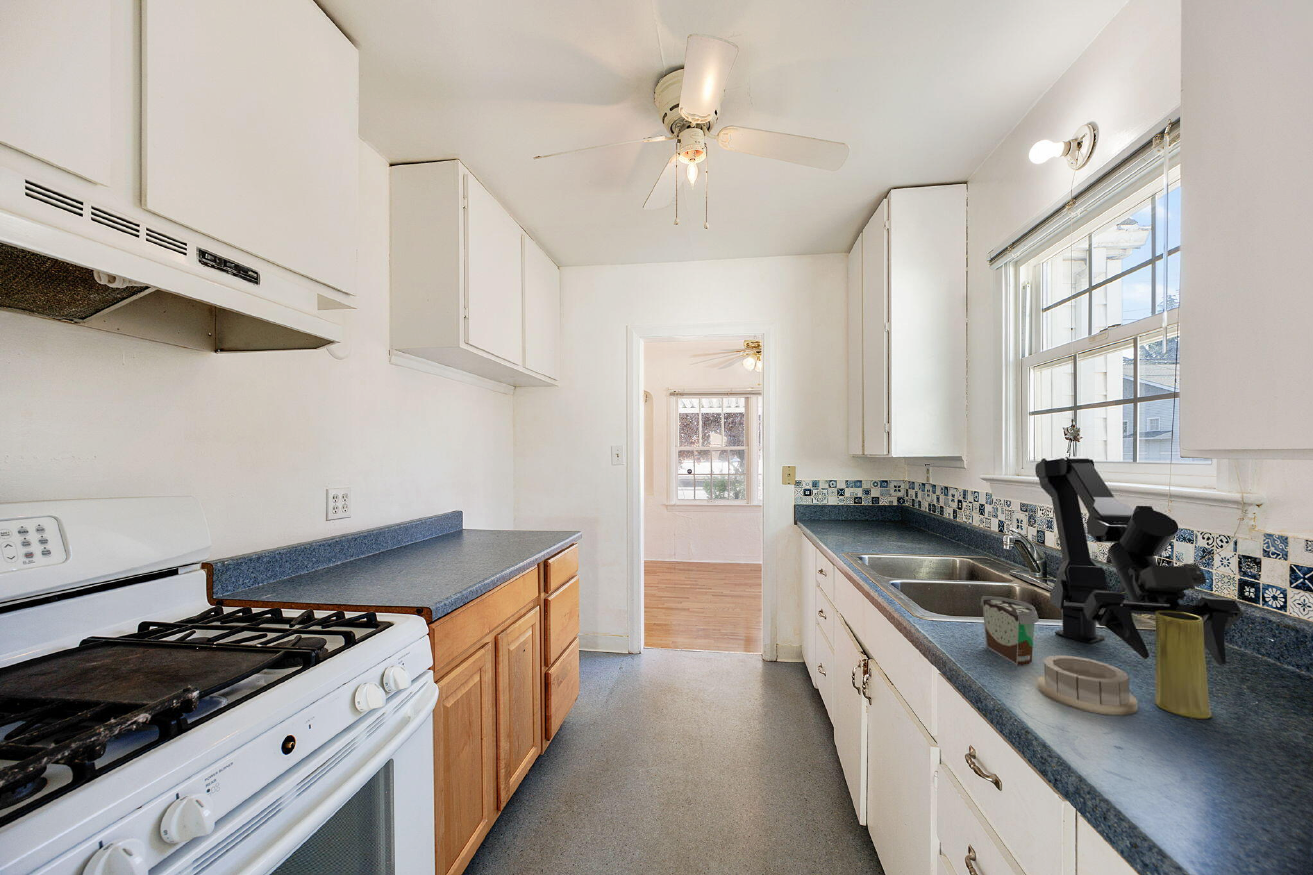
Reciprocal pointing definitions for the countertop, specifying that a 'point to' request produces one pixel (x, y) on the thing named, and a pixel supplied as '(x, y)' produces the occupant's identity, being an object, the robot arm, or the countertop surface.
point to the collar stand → (1087, 685)
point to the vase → (1181, 665)
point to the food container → (1009, 628)
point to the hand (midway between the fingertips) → (1184, 660)
